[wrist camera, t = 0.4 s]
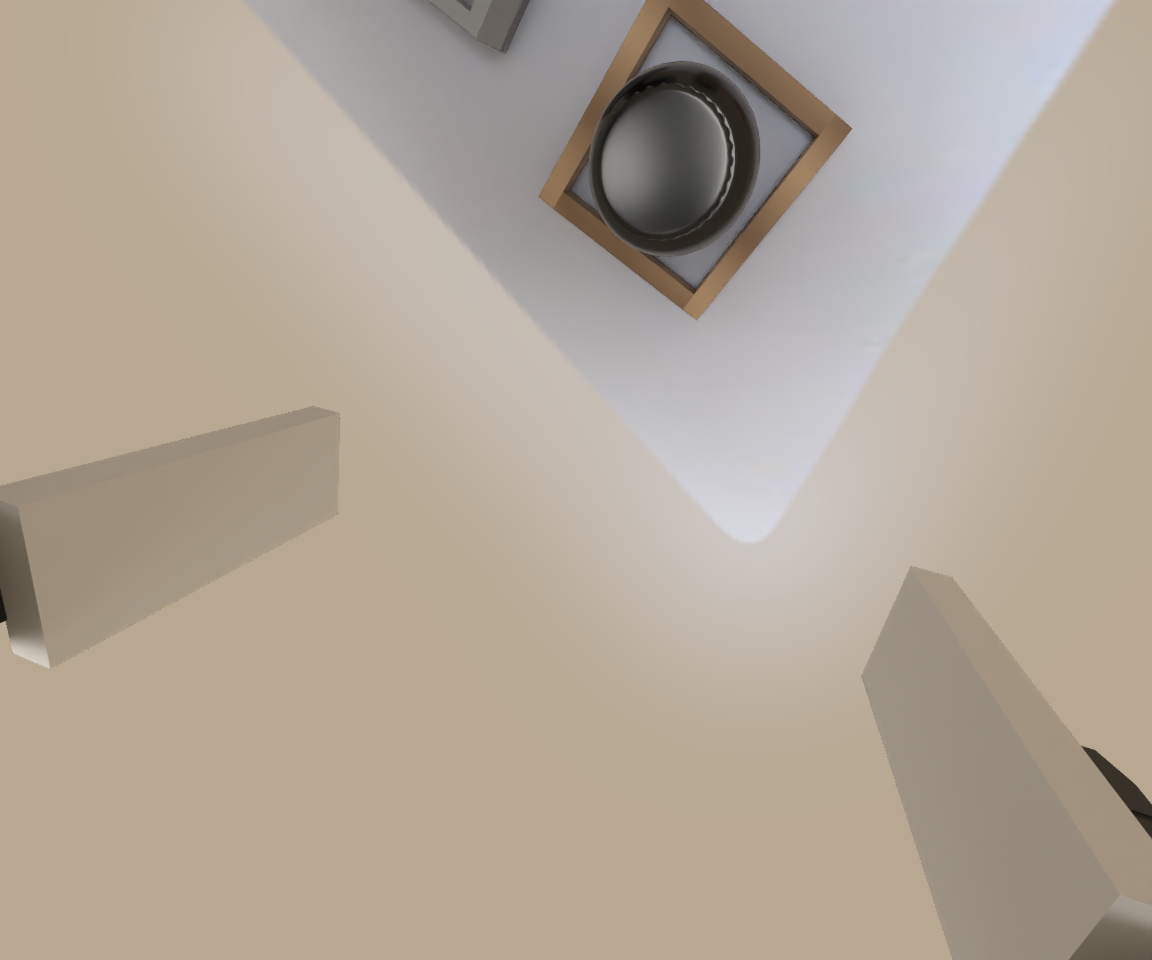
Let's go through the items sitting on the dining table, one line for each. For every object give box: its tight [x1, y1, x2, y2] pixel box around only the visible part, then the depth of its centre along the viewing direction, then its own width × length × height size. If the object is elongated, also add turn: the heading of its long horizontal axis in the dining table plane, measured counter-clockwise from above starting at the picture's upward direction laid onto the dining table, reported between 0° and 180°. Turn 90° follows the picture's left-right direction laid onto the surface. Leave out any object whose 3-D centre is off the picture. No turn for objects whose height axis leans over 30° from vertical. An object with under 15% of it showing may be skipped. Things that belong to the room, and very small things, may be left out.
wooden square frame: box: [539, 0, 852, 320], centre depth 29 cm, size 11×11×2 cm
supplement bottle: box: [589, 61, 760, 256], centre depth 24 cm, size 7×7×12 cm
